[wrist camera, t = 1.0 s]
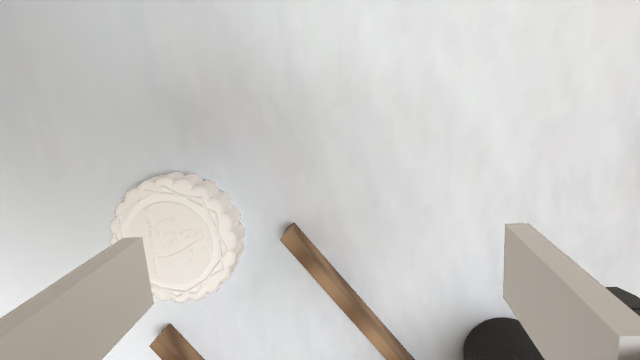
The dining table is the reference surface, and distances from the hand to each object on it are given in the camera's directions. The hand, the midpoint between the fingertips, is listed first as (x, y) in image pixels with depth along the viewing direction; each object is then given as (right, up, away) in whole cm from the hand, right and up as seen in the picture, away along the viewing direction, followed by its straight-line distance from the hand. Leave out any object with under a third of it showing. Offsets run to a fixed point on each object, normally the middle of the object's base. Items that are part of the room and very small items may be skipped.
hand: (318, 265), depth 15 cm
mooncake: (-13, -2, +26) cm, 29 cm away
